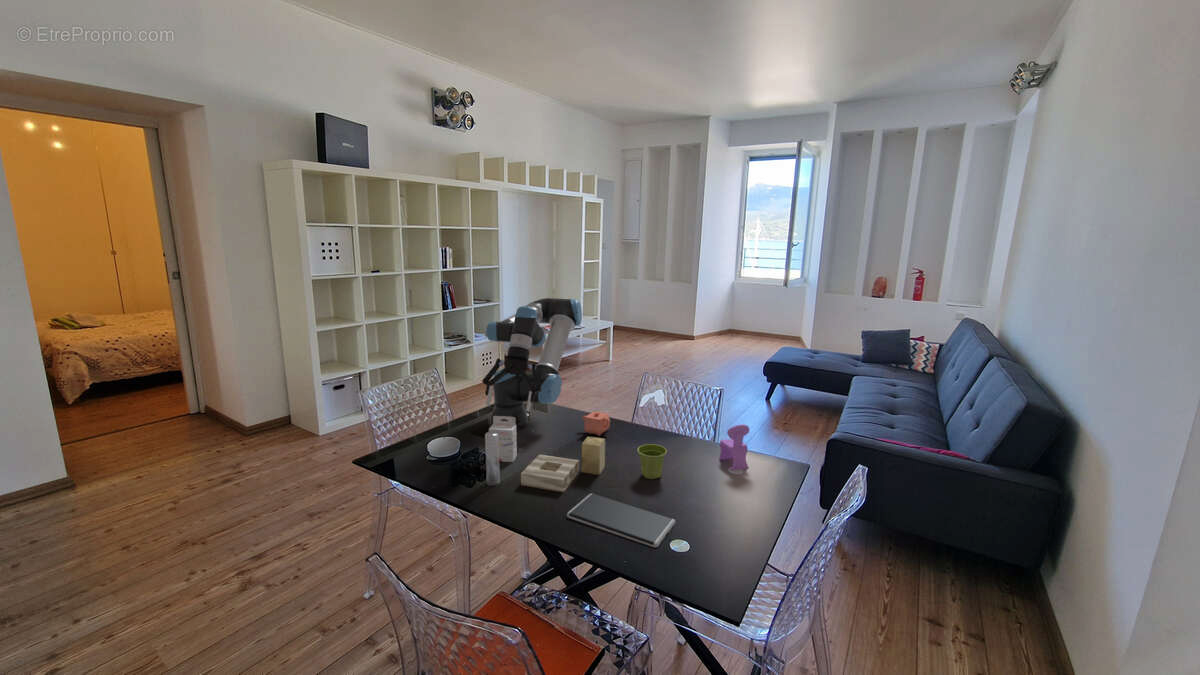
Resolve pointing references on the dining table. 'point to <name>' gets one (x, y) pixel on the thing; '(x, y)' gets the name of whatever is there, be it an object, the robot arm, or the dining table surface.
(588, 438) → the square bar
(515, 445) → the ink cartridge box
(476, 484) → the dining table surface
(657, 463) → the plant pot
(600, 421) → the pink cube teapot
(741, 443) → the toy chair
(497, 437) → the cylinder
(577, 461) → the socket block
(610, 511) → the smartphone
